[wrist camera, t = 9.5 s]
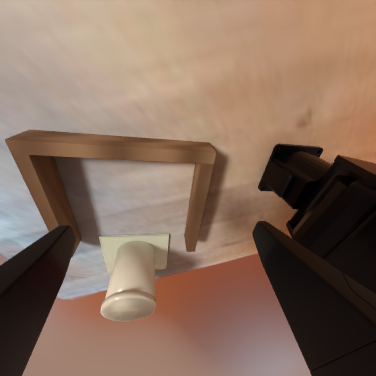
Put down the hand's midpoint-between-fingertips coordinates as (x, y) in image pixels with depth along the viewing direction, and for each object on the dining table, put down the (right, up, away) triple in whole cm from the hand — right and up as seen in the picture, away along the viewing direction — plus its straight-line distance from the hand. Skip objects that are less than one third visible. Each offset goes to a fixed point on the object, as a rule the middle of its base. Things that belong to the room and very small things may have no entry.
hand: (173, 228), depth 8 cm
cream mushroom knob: (-8, -10, +19) cm, 23 cm away
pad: (-8, -9, +19) cm, 22 cm away
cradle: (-6, +1, +13) cm, 14 cm away
